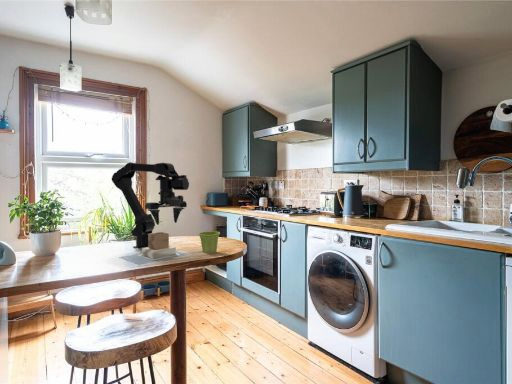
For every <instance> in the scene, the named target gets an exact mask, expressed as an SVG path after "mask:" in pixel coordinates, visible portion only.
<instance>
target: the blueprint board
mask: <svg viewBox="0 0 512 384" xmlns="http://www.w3.org/2000/svg"><path fill="white" fill-rule="evenodd" d="M188 255H189V254H188V253H185V252H181V251H177V250H176V255H172V256H167V257H162V258H157V259H152V258H149V257H146V256H143V255H142V252H140V253H136V254H130V255H124V256H120V257H118V258H120V259H122V260H125V261H128V262H129V263H133V264H136V265H144V264H148V263H153V262H154V263H155V262H159V261H164V260H167V259H169V260H170V259H174V258H178V257H183V256H188Z"/></svg>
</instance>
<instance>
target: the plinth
mask: <svg viewBox="0 0 512 384" xmlns="http://www.w3.org/2000/svg"><path fill="white" fill-rule="evenodd" d="M176 251H177V250H176V247H173V246H171V245H169V248H165V249H159V250H154V249H150V248H148V247H145V248H141V253H142V255H143V256H146V257H149V258H152V259H157V258H162V257H167V256H172V255H176Z"/></svg>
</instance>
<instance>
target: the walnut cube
mask: <svg viewBox="0 0 512 384" xmlns="http://www.w3.org/2000/svg"><path fill="white" fill-rule="evenodd" d="M169 236H170V234H169V233H167V232H163V231H159V232H152V233H151V234H148V248H150V249H154V250H159V249H165V248H169V246H170V245H169V244H170V241H169V240H170V237H169Z"/></svg>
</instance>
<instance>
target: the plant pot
mask: <svg viewBox="0 0 512 384" xmlns="http://www.w3.org/2000/svg"><path fill="white" fill-rule="evenodd" d="M220 234H221V232H220V231H211V230H210V231H201V232H198V236H199V239H200V242H201V243H200V244H201V250H202V253H204V254H205V253H207V254H208V253H209V254H210V253H217V252H216V251H217V250H218V243H219V242H218V241H219V236H220Z"/></svg>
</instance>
